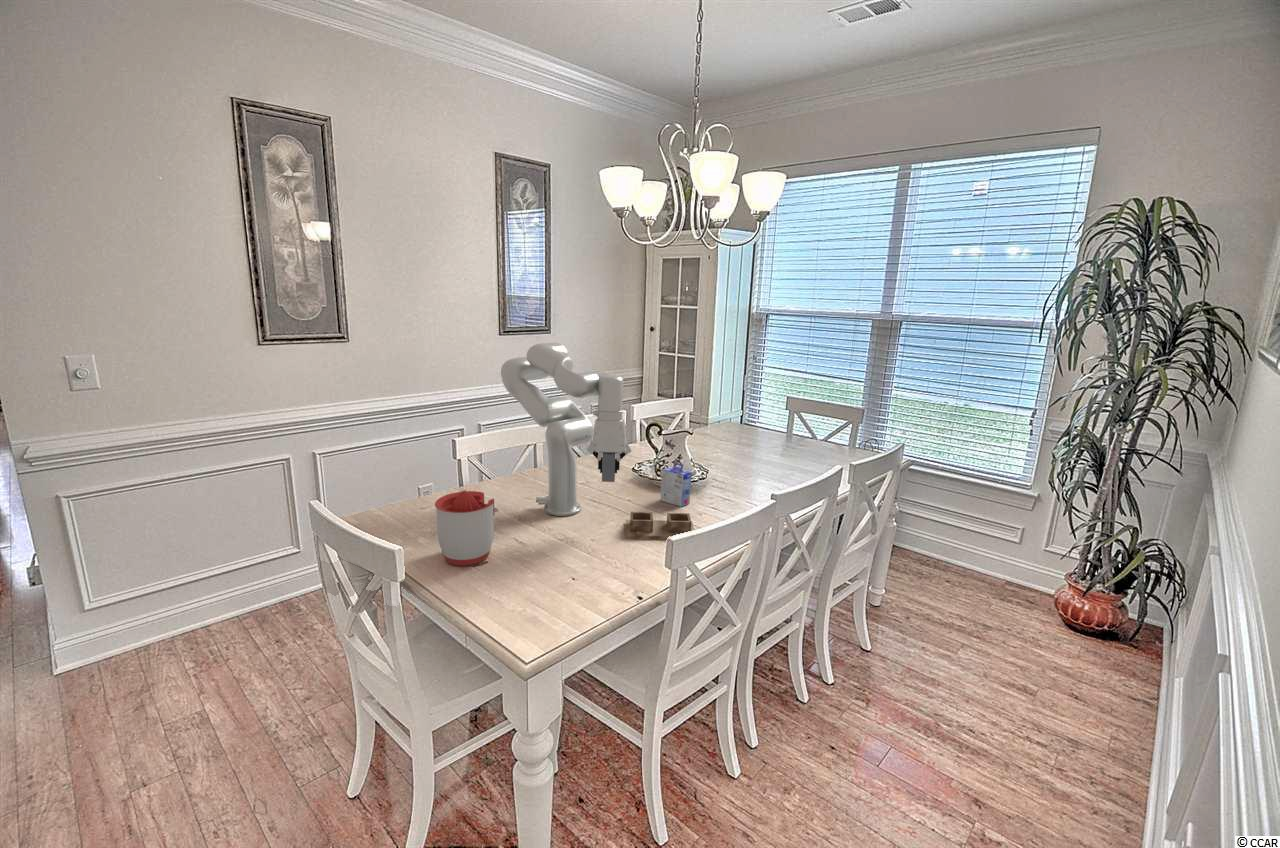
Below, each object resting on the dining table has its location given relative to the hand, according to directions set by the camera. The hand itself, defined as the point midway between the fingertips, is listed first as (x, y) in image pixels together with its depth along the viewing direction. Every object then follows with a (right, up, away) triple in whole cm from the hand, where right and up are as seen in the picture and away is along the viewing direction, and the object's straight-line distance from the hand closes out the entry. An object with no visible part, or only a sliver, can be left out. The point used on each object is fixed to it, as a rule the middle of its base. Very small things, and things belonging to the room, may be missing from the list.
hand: (608, 471), depth 177 cm
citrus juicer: (-38, -23, -18) cm, 48 cm away
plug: (0, -3, +1) cm, 3 cm away
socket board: (+16, -20, +3) cm, 26 cm away
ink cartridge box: (+23, -14, +28) cm, 39 cm away
